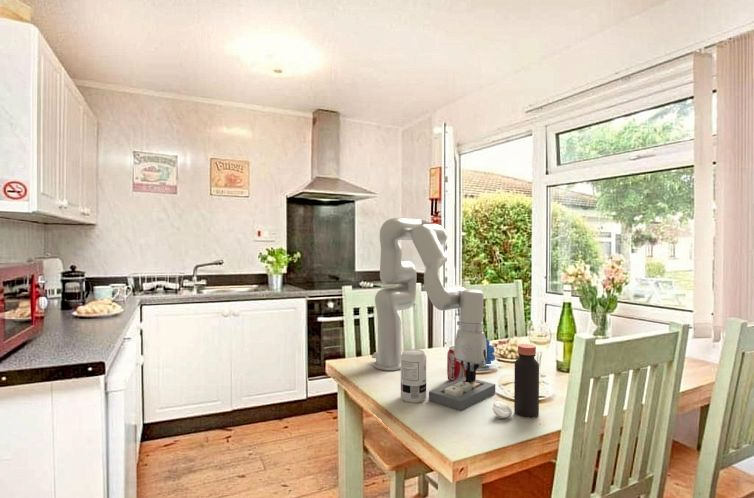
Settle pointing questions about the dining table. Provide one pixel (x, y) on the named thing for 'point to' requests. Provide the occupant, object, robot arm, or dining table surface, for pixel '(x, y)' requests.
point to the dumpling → (501, 409)
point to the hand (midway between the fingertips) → (470, 381)
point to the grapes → (489, 352)
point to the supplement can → (413, 376)
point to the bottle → (526, 382)
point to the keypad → (465, 399)
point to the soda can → (454, 366)
